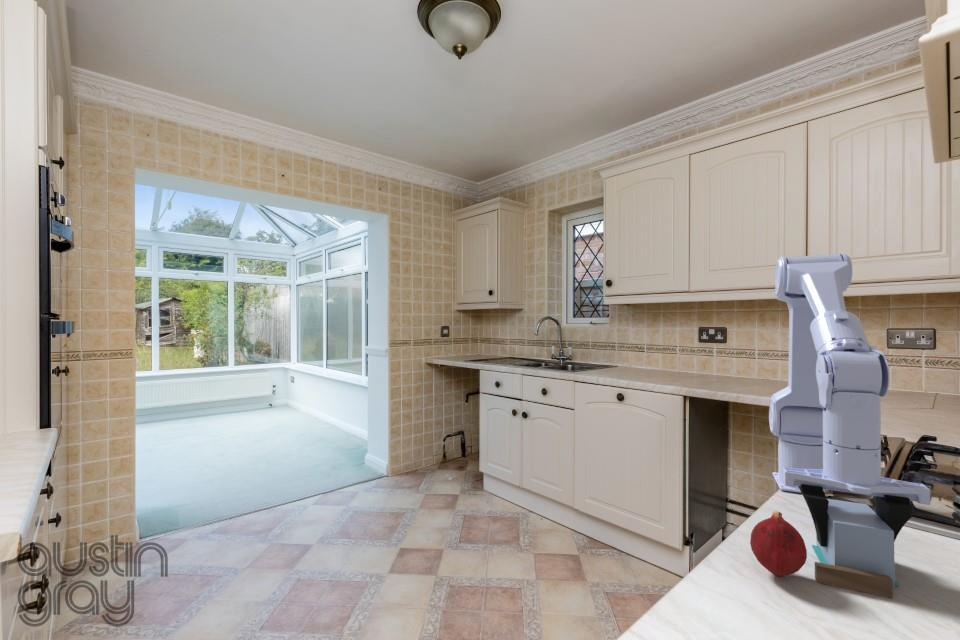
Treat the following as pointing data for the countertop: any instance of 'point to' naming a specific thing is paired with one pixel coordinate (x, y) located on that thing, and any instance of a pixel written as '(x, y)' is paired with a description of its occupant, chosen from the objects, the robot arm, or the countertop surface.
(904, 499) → the robot arm
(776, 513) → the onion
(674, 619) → the countertop surface
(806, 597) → the countertop surface
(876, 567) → the matte gray cuboid
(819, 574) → the brown cuboid
